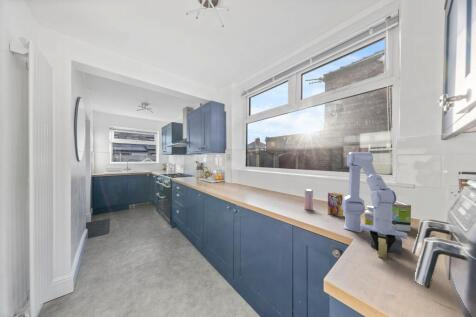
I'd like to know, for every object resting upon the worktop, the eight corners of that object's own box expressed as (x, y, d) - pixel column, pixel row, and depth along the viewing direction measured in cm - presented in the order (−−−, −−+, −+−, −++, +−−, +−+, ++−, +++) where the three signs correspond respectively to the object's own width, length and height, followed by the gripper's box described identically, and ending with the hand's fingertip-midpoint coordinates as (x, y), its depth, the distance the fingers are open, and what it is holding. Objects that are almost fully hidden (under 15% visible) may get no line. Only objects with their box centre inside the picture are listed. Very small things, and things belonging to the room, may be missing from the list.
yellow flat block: (377, 251, 72) (377, 237, 71) (384, 253, 70) (385, 239, 70) (378, 256, 67) (378, 242, 67) (386, 259, 66) (386, 244, 66)
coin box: (369, 238, 83) (369, 226, 83) (396, 244, 78) (396, 231, 77) (371, 246, 75) (371, 233, 75) (401, 254, 69) (402, 240, 69)
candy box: (343, 215, 115) (343, 193, 115) (341, 217, 112) (342, 194, 111) (329, 212, 121) (329, 191, 121) (327, 213, 118) (327, 192, 118)
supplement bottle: (369, 226, 97) (369, 204, 97) (382, 231, 91) (383, 207, 91) (361, 227, 95) (362, 205, 95) (374, 233, 89) (375, 209, 89)
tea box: (411, 231, 91) (412, 205, 90) (390, 230, 93) (390, 203, 92) (391, 221, 105) (392, 198, 105) (373, 220, 107) (374, 197, 107)
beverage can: (305, 207, 132) (306, 188, 132) (313, 209, 129) (314, 189, 128) (303, 209, 128) (303, 189, 128) (311, 210, 124) (311, 191, 124)
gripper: (361, 217, 69) (360, 249, 70) (409, 226, 61) (409, 262, 61) (360, 212, 75) (359, 242, 75) (404, 220, 67) (404, 253, 67)
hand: (381, 251), depth 69 cm, fingers closed on yellow flat block, 2 cm apart
